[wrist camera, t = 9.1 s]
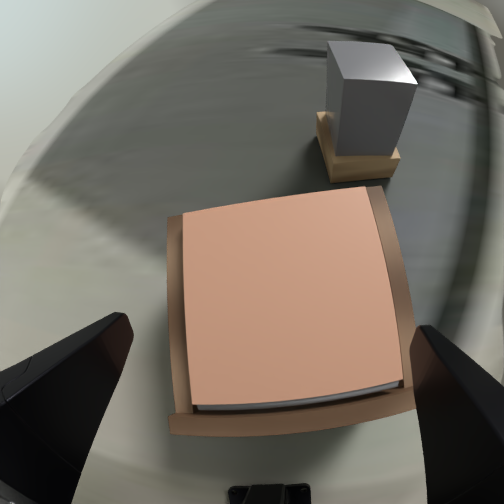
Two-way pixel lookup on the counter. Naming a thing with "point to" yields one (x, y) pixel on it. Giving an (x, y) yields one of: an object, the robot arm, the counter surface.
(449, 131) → the counter surface
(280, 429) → the walnut frame
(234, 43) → the counter surface
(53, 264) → the counter surface
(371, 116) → the granite block
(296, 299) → the terracotta flap
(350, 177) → the oak plinth
